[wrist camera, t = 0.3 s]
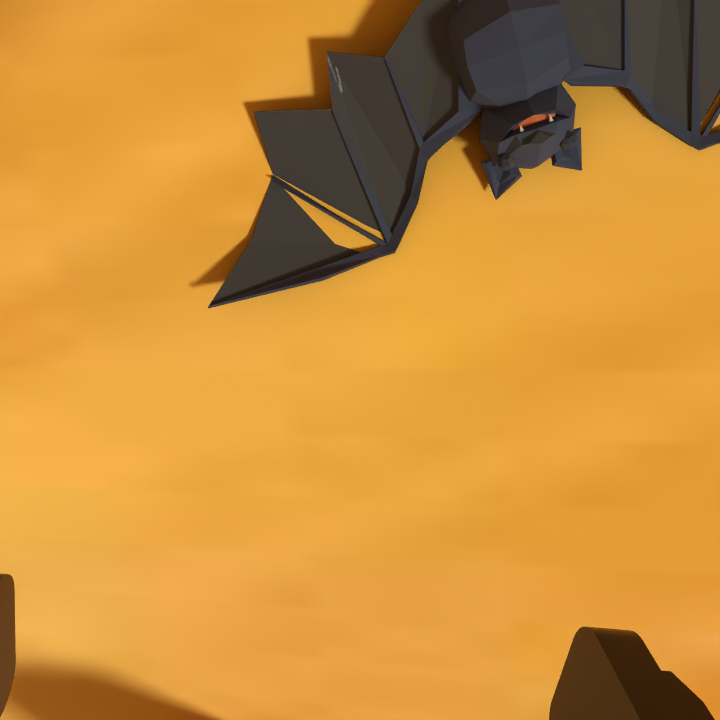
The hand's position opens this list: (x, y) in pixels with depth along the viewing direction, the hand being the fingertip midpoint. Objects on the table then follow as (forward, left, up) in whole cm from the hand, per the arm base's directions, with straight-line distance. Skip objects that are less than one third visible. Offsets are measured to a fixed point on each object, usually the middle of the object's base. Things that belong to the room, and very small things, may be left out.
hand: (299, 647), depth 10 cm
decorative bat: (-10, -2, -22) cm, 25 cm away
